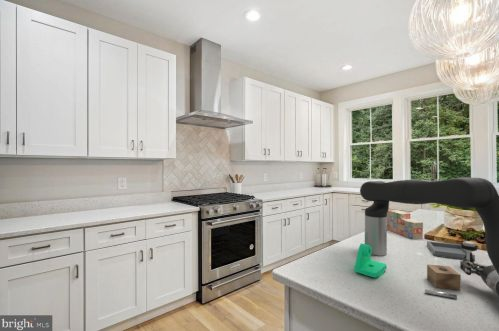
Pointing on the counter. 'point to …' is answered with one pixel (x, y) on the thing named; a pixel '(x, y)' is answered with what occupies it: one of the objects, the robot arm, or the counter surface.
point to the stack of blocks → (404, 224)
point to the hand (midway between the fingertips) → (480, 262)
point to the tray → (447, 250)
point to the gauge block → (443, 277)
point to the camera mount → (368, 262)
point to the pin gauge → (441, 294)
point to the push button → (469, 250)
